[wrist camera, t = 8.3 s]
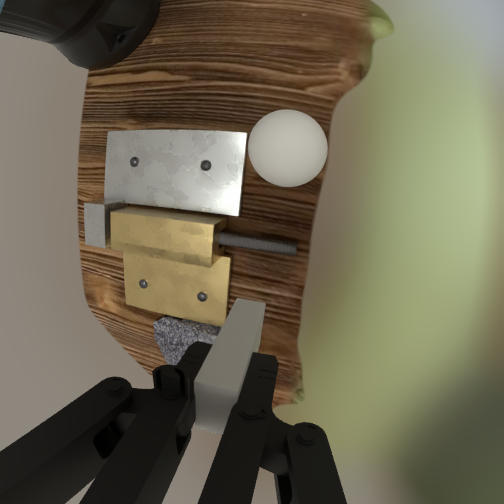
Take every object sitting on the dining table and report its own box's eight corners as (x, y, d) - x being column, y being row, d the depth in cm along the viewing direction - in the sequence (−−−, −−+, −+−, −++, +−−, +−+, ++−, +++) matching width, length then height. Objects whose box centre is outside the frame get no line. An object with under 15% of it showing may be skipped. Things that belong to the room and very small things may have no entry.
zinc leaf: (112, 131, 32) (87, 129, 27) (310, 140, 28) (311, 135, 24) (109, 234, 36) (85, 244, 31) (294, 264, 32) (291, 281, 28)
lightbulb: (251, 146, 30) (222, 136, 19) (298, 113, 28) (293, 85, 17) (286, 193, 30) (275, 207, 20) (333, 160, 29) (348, 156, 18)
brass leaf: (127, 204, 34) (103, 211, 29) (236, 217, 32) (223, 226, 27) (130, 301, 38) (110, 316, 33) (226, 323, 36) (215, 345, 31)
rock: (233, 340, 32) (227, 407, 33) (245, 322, 37) (238, 384, 39) (142, 317, 34) (145, 381, 36) (162, 304, 39) (163, 364, 41)
